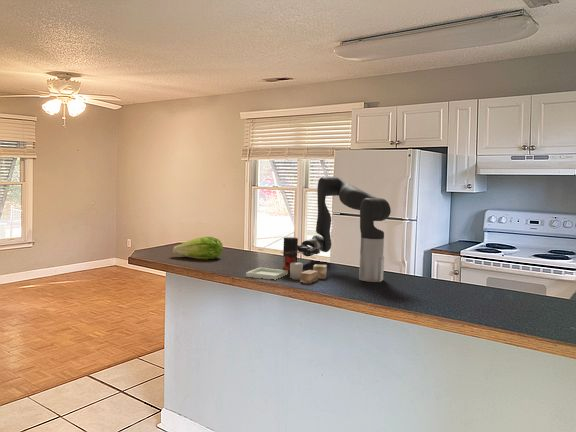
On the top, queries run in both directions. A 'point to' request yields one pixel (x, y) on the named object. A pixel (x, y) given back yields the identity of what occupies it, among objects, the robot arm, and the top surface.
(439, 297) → the top surface
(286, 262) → the deodorant
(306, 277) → the beech brick
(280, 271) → the tray
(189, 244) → the lettuce
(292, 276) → the grey cylinder
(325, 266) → the maple cube
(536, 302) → the top surface
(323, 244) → the robot arm
